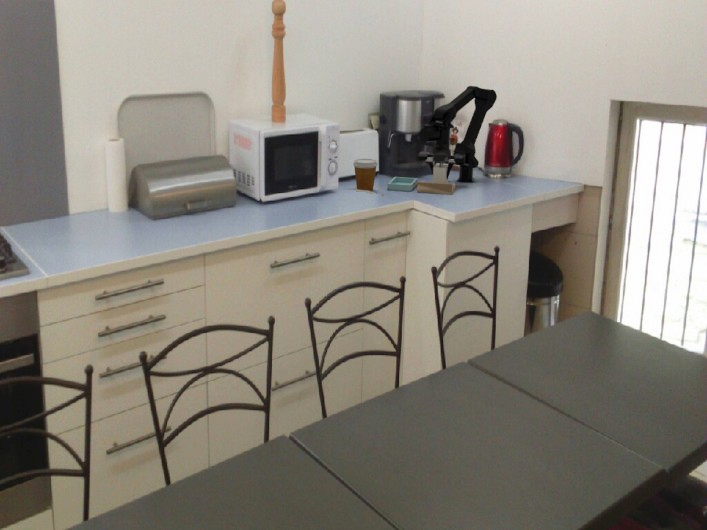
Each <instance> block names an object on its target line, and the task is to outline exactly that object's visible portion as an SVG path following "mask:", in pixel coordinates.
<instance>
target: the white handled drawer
mask: <svg viewBox="0 0 707 530" xmlns="http://www.w3.org/2000/svg"><path fill="white" fill-rule="evenodd" d="M447 170H448V163H444V162H441V161H440V163H438V162H437V163H435V166H434V167H433V174H432V182H433V183H449V178H448V179H447Z"/></svg>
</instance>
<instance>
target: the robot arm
mask: <svg viewBox="0 0 707 530" xmlns="http://www.w3.org/2000/svg"><path fill="white" fill-rule="evenodd" d="M497 98H498V96H497V93H496V91H495V90H494V89H490V88H489V89H488V88H482V87H479V86H475V85H469V86H467V87H466V89H464V91H462V92H461V93H460V94H459V95H457V96H456V97H454V99H452V100H451V101H450V102H449V103H446V104H442V105H440V106H439V107H437V108H435V110H434V111H433V114H432V115H431V118H430V119H429V121H428V123H427V124H423V126H422V128H421V129H420V131H419V133H418V136H419V139H420V141H421V142H422V143H432V142H434V148H433V152H432V154H431V153H430V151H420V152H419V153H418V155H417V161H421V162H422V161H423V162H425V164H428V165H429V168H430V170H431V174H432V175H433V167H434V166H435V165H436V163H435V162H440V163H441V162H443V163H444V162H446V161H449V162H448V163H447V164H448V170H447V179H448V180H449V176H450V174H451V172H452V168H453V166H454V165H455V166H459V171H458V178H457V180H456V181H457V182H463V183H464V182H466V183H473V182H474V180H475V178H474V169H476V168H477V167H479V164H480V163H479V160H478V159H477V157H476V153H477V152H476V145H475V144H476V142H477V139H478V136H479V134H480V130H481V129H482V126H483V123H484V120H485V117H486V115H487V112H489V110H491V109H492V108H493V107H494V105H495V103H496V101H497ZM472 100H474V101H473V102H474V106H475V108H474V111H473V113H472V116H471V119H470V122H469V124H468V127H467V129H466V132H465V134H464V138H463V139H462V141H461V142H457V143H456V144H455V148H454V150H453V155H452V149H450V140H451V139H450V137H451V129H454V128H455V126H454V125H453V124H452V122H453V120H455V118H456V117H457V114H458V112H459V111H460V110H462V109H463V108H464V107H466V106H467V104H469V103H471V101H472Z"/></svg>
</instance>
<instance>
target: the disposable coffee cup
mask: <svg viewBox="0 0 707 530" xmlns="http://www.w3.org/2000/svg"><path fill="white" fill-rule="evenodd" d="M352 165H353V167H354V173H355V174H354V176H355V184H356V190H357V191H367V192H370V193H373V192H374V185H375V178H376V173H377V167H378V165H379V164H378V163H377V160H376V159H373V158H358V159H355V160H354V162H353V164H352Z"/></svg>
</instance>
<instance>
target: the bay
mask: <svg viewBox="0 0 707 530" xmlns="http://www.w3.org/2000/svg"><path fill="white" fill-rule="evenodd" d="M416 187H417V188H416V191H417V192H416V193H425V194H437V195H439V194H440V195H452V194H453V193H454V191H455V190H456V183H450V182H448V183H433V181H418V182H417V185H416Z"/></svg>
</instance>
